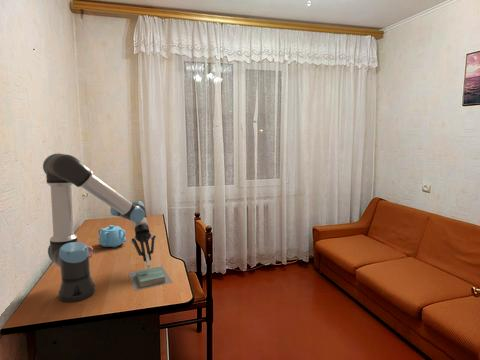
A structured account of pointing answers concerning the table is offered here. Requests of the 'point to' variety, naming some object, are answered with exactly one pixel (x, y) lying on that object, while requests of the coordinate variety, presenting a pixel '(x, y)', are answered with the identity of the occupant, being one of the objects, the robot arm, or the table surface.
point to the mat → (137, 285)
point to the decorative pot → (111, 236)
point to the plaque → (150, 276)
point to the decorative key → (91, 251)
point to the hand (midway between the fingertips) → (148, 266)
